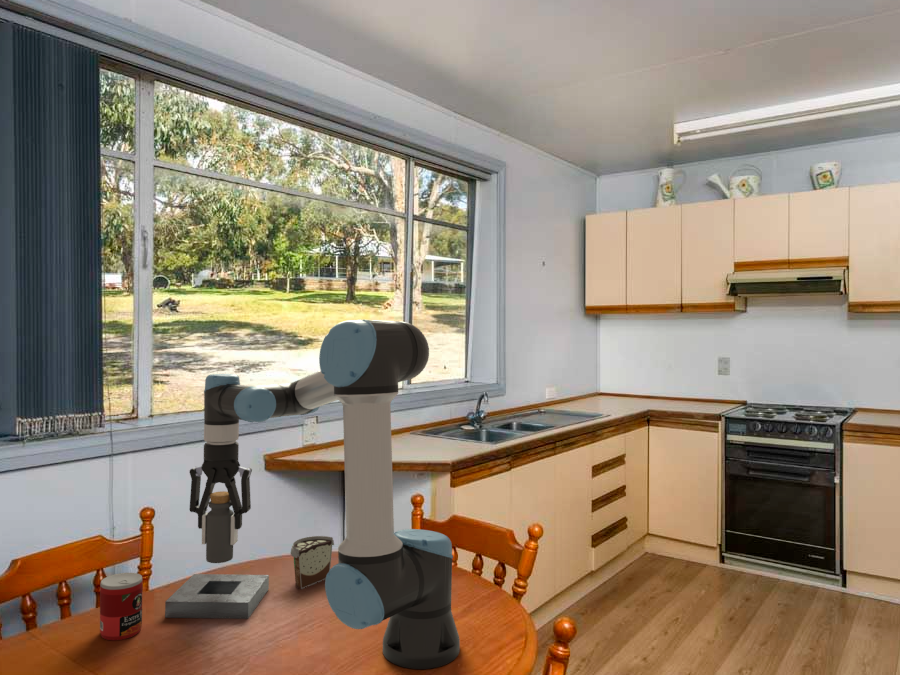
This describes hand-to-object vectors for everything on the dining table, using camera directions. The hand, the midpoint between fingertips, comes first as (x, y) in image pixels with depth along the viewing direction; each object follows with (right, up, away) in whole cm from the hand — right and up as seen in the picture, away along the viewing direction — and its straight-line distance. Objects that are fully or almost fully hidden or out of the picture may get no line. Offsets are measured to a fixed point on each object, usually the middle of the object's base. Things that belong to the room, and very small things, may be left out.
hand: (219, 542), depth 149 cm
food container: (+17, -14, +14) cm, 26 cm away
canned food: (-15, -14, -15) cm, 25 cm away
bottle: (0, -4, 0) cm, 4 cm away
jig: (0, -14, 0) cm, 14 cm away
